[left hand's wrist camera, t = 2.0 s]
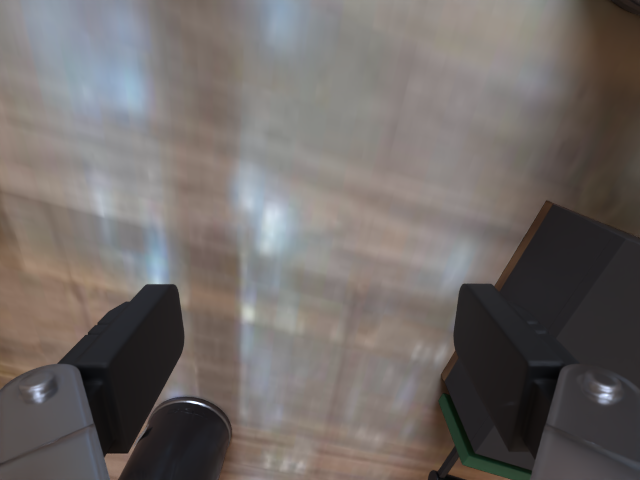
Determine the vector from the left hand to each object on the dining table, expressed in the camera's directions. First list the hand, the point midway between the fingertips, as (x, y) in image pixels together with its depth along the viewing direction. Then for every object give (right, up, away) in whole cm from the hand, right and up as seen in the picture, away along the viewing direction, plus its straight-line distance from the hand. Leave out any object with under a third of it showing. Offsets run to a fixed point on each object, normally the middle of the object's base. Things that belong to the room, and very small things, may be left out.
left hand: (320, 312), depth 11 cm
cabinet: (+22, -5, +28) cm, 36 cm away
